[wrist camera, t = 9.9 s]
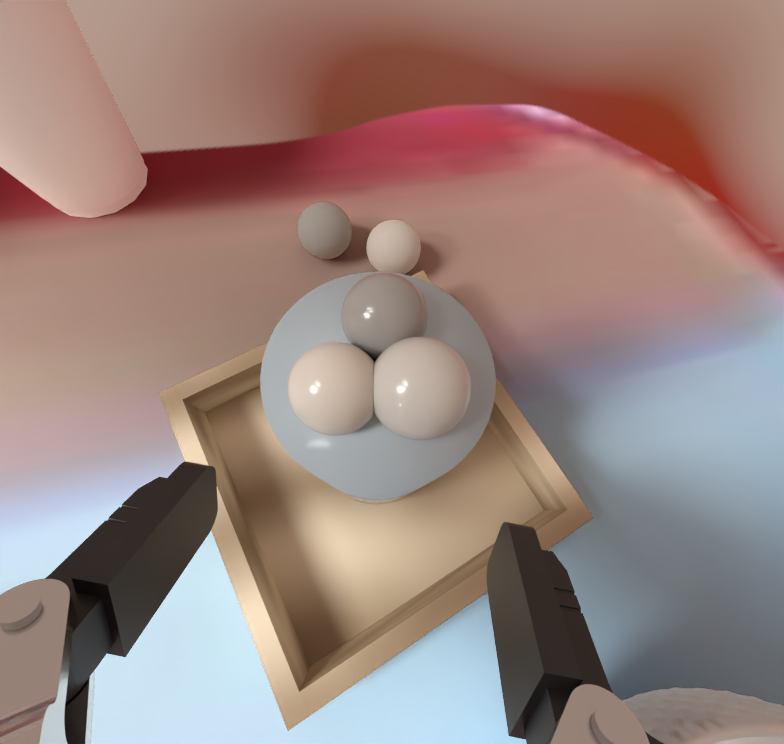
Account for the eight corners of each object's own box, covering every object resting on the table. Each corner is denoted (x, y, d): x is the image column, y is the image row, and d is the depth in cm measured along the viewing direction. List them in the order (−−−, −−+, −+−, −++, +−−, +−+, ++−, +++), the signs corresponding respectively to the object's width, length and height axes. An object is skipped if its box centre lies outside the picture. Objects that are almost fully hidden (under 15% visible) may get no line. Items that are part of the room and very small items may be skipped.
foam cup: (36, 133, 26) (-255, -192, 14) (174, 125, 27) (12, -189, 15) (9, 244, 23) (-397, -52, 11) (166, 231, 24) (-48, -58, 12)
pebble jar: (306, 423, 19) (198, 281, 8) (400, 380, 20) (436, 196, 9) (349, 525, 18) (301, 550, 6) (449, 472, 19) (577, 404, 7)
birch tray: (191, 410, 20) (158, 392, 17) (416, 301, 23) (423, 270, 20) (304, 690, 16) (287, 730, 13) (559, 516, 19) (593, 517, 16)
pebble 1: (294, 239, 24) (282, 201, 21) (339, 221, 25) (334, 181, 22) (316, 277, 23) (307, 242, 20) (362, 257, 24) (360, 220, 21)
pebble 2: (357, 256, 24) (355, 219, 21) (401, 237, 25) (405, 199, 22) (382, 294, 23) (383, 262, 20) (427, 274, 24) (434, 239, 21)
